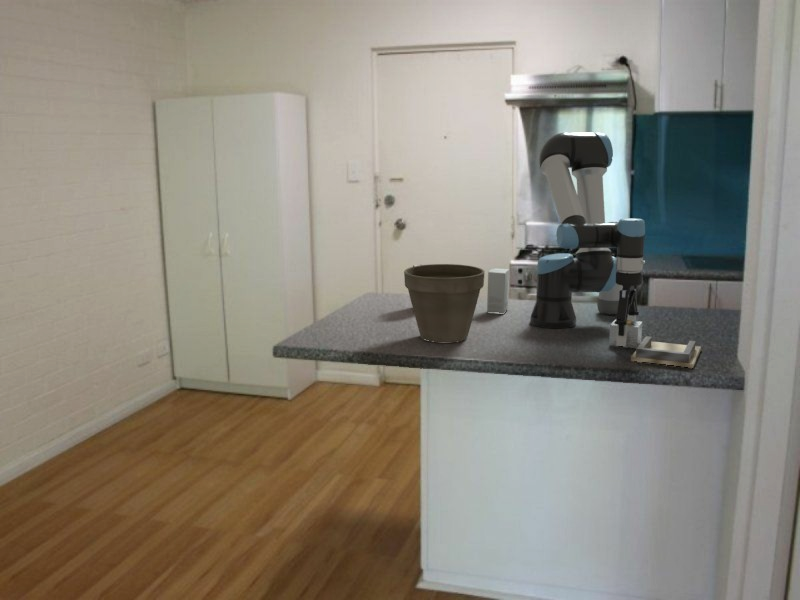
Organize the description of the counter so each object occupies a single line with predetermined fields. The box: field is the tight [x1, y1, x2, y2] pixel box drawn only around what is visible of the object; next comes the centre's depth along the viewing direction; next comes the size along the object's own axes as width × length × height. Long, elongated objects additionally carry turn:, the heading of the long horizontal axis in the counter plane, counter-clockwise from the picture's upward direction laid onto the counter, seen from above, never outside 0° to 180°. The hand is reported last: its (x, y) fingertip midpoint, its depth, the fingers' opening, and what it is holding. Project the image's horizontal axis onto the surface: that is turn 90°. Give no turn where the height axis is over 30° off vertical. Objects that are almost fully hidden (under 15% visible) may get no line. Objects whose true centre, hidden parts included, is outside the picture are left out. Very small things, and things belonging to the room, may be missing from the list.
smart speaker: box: [596, 284, 623, 316], centre depth 257 cm, size 10×9×14 cm
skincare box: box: [486, 267, 510, 313], centre depth 261 cm, size 8×7×16 cm
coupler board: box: [630, 335, 702, 369], centre depth 204 cm, size 16×20×4 cm
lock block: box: [608, 318, 643, 349], centre depth 217 cm, size 8×8×7 cm
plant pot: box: [403, 263, 485, 343], centre depth 224 cm, size 25×25×22 cm
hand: (625, 341), depth 217 cm, fingers open, 13 cm apart
